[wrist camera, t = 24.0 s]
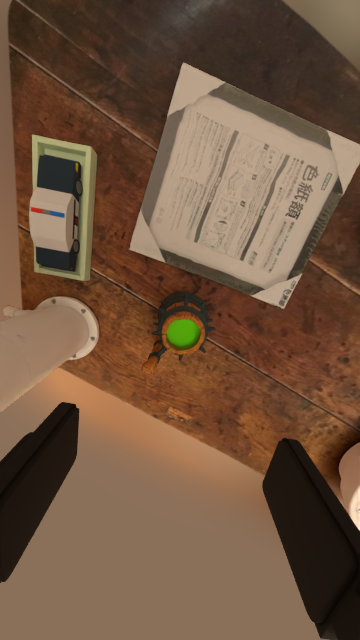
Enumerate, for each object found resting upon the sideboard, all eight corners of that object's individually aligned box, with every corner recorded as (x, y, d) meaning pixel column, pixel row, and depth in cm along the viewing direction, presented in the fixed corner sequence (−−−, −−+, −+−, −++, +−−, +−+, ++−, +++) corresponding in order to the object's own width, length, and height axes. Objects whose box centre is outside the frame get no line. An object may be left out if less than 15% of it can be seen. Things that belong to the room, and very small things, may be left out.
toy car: (84, 167, 30) (67, 147, 25) (78, 271, 34) (62, 271, 29) (51, 160, 30) (26, 138, 25) (49, 266, 33) (27, 265, 28)
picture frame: (182, 59, 26) (368, 147, 29) (181, 61, 27) (366, 148, 29) (128, 249, 33) (284, 309, 35) (128, 249, 33) (283, 308, 35)
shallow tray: (42, 271, 35) (34, 271, 33) (42, 143, 30) (31, 134, 28) (90, 280, 35) (84, 281, 33) (97, 154, 30) (91, 146, 28)
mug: (183, 278, 34) (183, 282, 23) (220, 317, 36) (237, 338, 25) (135, 326, 37) (115, 351, 26) (172, 360, 39) (168, 397, 28)
